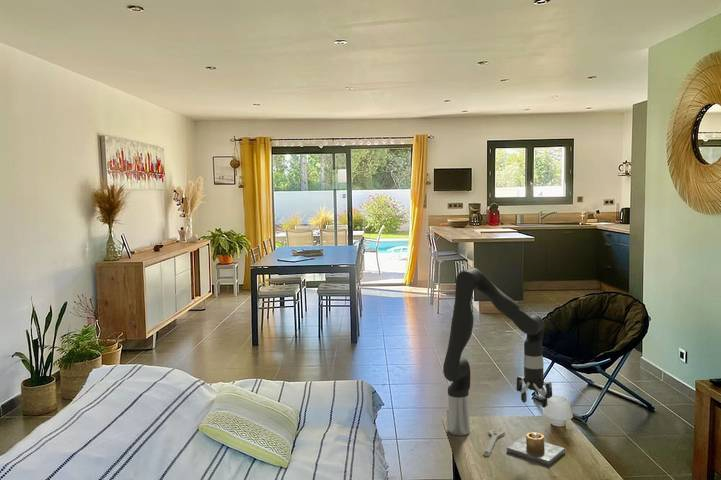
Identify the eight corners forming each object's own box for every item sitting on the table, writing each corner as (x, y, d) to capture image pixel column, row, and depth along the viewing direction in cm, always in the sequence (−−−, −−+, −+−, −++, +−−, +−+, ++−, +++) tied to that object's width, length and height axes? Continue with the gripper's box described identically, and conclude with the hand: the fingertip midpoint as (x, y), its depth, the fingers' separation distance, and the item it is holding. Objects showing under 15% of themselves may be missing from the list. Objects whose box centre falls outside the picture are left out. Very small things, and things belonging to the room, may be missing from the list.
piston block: (506, 452, 217) (506, 433, 216) (523, 440, 227) (523, 422, 226) (548, 466, 204) (548, 445, 203) (564, 452, 214) (564, 433, 213)
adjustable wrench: (489, 458, 213) (489, 454, 213) (473, 455, 217) (473, 451, 217) (506, 433, 235) (506, 429, 235) (491, 430, 238) (491, 426, 238)
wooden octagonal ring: (524, 448, 215) (523, 436, 215) (531, 442, 220) (531, 430, 219) (538, 452, 211) (538, 440, 210) (546, 447, 215) (546, 435, 215)
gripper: (512, 364, 215) (513, 403, 216) (546, 371, 205) (546, 411, 206) (521, 359, 221) (522, 397, 222) (554, 366, 210) (555, 406, 212)
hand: (534, 404), depth 214 cm, fingers open, 8 cm apart
